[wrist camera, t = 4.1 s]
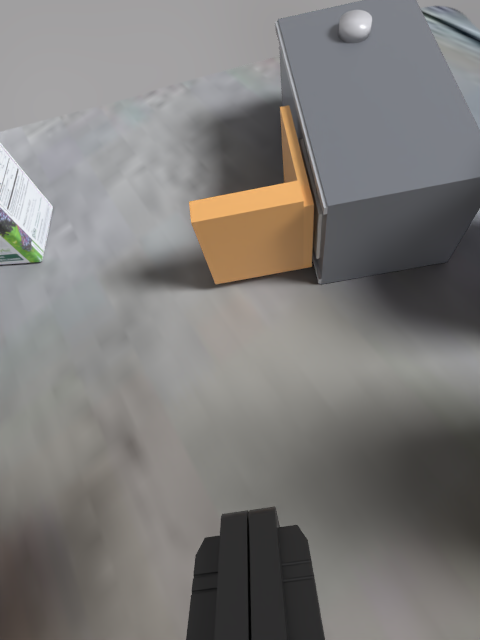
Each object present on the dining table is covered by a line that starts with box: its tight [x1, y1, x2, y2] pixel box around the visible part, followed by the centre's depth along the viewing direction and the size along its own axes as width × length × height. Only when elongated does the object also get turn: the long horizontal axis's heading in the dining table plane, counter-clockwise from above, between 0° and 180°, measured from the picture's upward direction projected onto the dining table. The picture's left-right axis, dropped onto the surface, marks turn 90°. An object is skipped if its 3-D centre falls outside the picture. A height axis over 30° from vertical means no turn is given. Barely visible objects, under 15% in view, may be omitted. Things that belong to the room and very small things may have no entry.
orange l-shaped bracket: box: [189, 105, 314, 284], centre depth 29 cm, size 8×7×8 cm
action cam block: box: [275, 0, 480, 284], centre depth 30 cm, size 17×9×10 cm, turn 8°
